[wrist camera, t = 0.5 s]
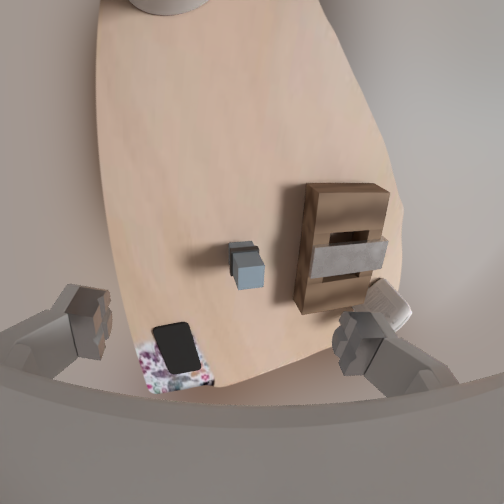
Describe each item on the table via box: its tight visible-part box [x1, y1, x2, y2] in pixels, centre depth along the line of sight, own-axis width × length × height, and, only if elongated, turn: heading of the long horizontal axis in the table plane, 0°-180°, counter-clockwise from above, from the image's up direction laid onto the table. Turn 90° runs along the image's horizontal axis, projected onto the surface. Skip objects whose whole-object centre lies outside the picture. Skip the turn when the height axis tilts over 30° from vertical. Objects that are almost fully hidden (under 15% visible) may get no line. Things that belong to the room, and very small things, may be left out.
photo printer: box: [352, 278, 412, 332], centre depth 63 cm, size 10×4×12 cm, turn 129°
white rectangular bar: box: [308, 235, 388, 279], centre depth 55 cm, size 6×15×4 cm, turn 88°
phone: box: [153, 322, 201, 374], centre depth 62 cm, size 7×1×15 cm
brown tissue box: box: [293, 183, 390, 315], centre depth 56 cm, size 24×14×5 cm, turn 178°
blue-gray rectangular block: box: [229, 241, 265, 290], centre depth 51 cm, size 5×5×8 cm
